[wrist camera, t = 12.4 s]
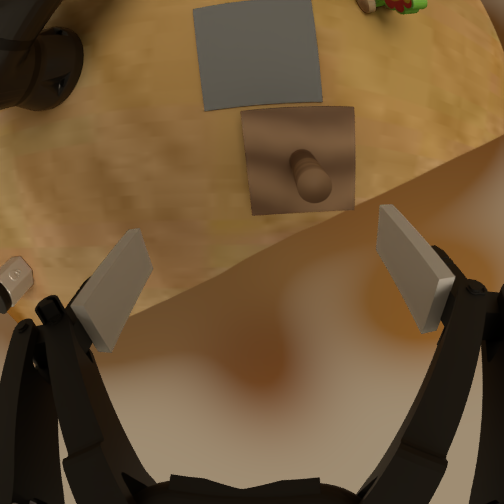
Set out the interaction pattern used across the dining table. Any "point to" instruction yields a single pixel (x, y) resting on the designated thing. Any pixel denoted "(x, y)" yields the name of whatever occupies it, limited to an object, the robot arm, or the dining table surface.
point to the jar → (14, 282)
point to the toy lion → (393, 5)
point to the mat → (257, 53)
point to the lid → (300, 159)
